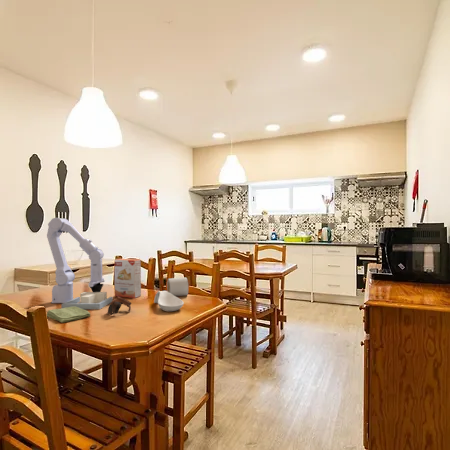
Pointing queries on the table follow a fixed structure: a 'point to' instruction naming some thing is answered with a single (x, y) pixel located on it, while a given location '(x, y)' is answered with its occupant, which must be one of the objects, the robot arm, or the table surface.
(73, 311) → the washcloth
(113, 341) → the table surface
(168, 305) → the spoon rest
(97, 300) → the T-block
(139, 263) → the cracker box
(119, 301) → the brown arched piece
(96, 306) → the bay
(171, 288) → the toilet paper
